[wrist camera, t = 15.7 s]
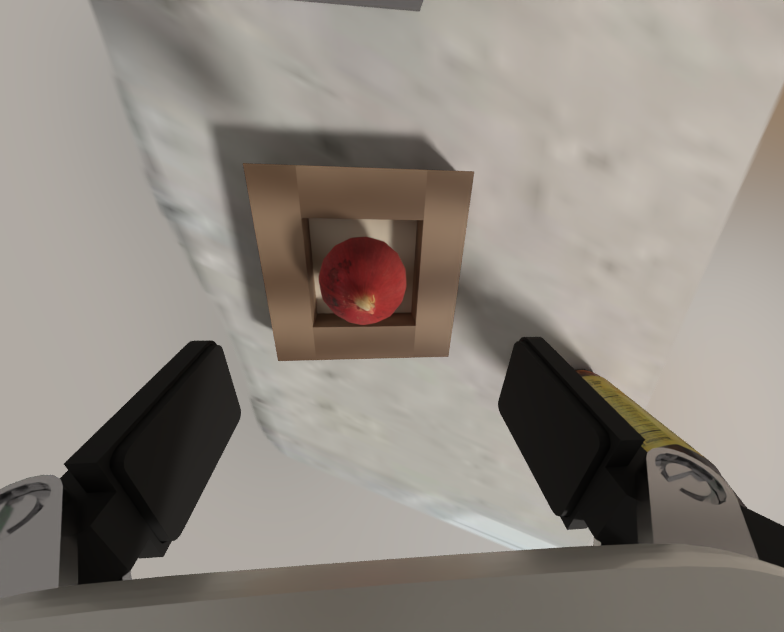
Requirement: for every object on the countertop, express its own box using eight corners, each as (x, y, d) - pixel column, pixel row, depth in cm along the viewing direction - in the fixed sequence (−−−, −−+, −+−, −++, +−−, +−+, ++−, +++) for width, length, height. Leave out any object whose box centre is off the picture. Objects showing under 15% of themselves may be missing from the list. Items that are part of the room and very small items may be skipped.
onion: (333, 303, 24) (319, 357, 16) (319, 232, 21) (295, 261, 14) (402, 295, 24) (418, 345, 17) (397, 224, 21) (412, 247, 14)
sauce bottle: (589, 407, 33) (847, 669, 16) (539, 411, 33) (744, 686, 15) (607, 361, 30) (949, 619, 13) (552, 365, 30) (825, 638, 12)
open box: (262, 165, 20) (242, 163, 17) (457, 172, 21) (474, 171, 18) (288, 338, 26) (278, 360, 23) (438, 335, 27) (448, 356, 24)
